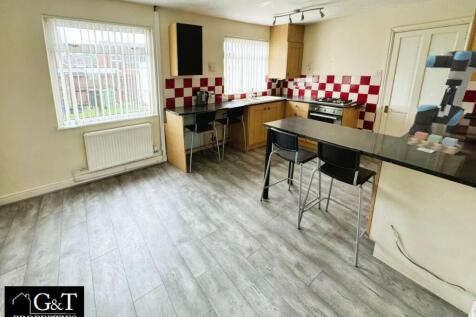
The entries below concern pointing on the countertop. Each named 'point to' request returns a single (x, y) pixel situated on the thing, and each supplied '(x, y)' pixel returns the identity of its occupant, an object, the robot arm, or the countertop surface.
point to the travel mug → (453, 128)
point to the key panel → (434, 146)
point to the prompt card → (426, 150)
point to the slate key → (449, 142)
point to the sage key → (435, 138)
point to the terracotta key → (421, 136)
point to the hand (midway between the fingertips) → (442, 115)
